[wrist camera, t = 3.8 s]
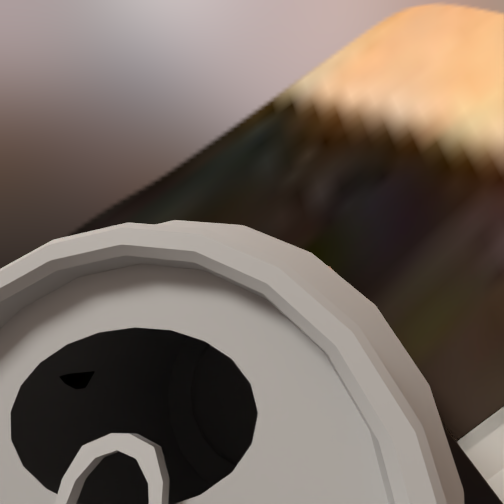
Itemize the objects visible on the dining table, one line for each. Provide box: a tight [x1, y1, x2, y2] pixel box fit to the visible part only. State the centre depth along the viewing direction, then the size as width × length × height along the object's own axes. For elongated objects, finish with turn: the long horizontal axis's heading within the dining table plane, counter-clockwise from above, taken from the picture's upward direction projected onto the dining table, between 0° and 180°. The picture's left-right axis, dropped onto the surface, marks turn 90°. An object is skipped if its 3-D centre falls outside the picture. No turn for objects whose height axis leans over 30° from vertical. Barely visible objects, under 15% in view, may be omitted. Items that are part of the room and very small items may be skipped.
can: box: [0, 220, 464, 504], centre depth 8 cm, size 8×8×12 cm
